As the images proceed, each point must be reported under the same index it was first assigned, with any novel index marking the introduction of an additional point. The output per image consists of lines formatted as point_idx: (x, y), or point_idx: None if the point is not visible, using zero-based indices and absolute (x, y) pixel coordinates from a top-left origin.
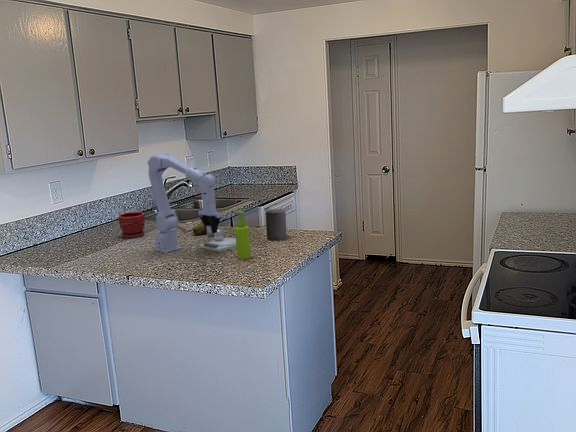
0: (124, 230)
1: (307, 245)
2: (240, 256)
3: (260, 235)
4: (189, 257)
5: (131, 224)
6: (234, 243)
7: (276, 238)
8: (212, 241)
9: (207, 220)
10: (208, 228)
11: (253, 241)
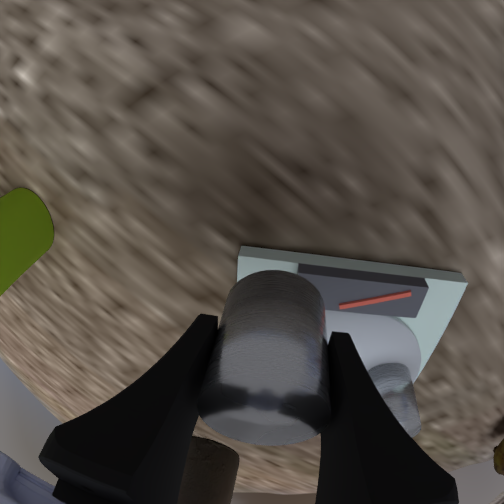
0: None
1: (56, 400)
2: (4, 195)
3: (292, 464)
4: (327, 22)
5: None
6: None
7: None
8: (410, 353)
9: (334, 480)
10: (248, 349)
11: None
